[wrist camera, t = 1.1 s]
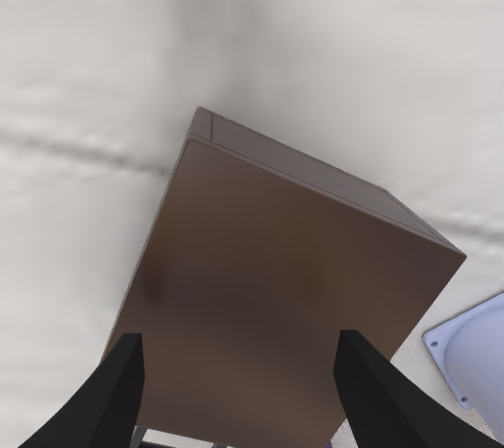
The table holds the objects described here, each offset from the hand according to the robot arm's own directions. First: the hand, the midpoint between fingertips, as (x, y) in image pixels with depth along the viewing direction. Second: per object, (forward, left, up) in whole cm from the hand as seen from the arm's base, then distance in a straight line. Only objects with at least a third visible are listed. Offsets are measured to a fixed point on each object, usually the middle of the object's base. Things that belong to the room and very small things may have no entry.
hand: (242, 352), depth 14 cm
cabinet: (-2, 0, -10) cm, 10 cm away
